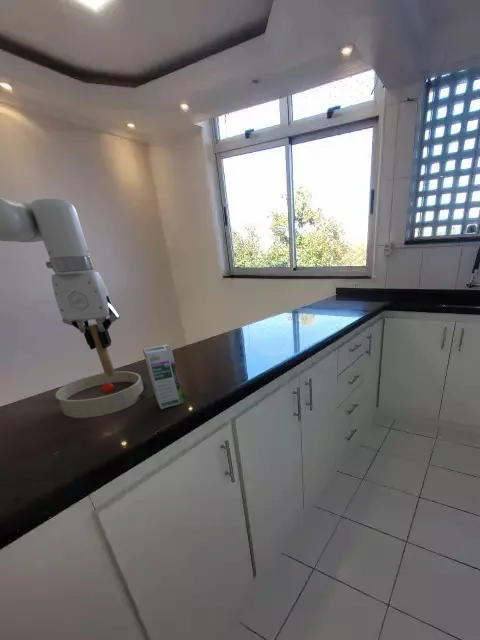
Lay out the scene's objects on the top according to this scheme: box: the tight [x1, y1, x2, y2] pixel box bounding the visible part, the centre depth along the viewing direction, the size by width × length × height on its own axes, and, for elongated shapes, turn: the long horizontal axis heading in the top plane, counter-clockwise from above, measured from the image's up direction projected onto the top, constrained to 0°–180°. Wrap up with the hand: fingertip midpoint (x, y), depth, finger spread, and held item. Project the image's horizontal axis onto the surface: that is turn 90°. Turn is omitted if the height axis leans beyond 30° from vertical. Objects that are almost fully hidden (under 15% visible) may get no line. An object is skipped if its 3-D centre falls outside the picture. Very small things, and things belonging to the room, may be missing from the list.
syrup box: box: [142, 344, 185, 410], centre depth 76 cm, size 6×6×14 cm
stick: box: [88, 323, 116, 377], centre depth 77 cm, size 2×2×13 cm
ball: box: [101, 383, 116, 394], centre depth 84 cm, size 3×3×3 cm
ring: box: [55, 370, 145, 419], centre depth 81 cm, size 19×19×4 cm
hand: (100, 346), depth 76 cm, fingers closed on stick, 2 cm apart
